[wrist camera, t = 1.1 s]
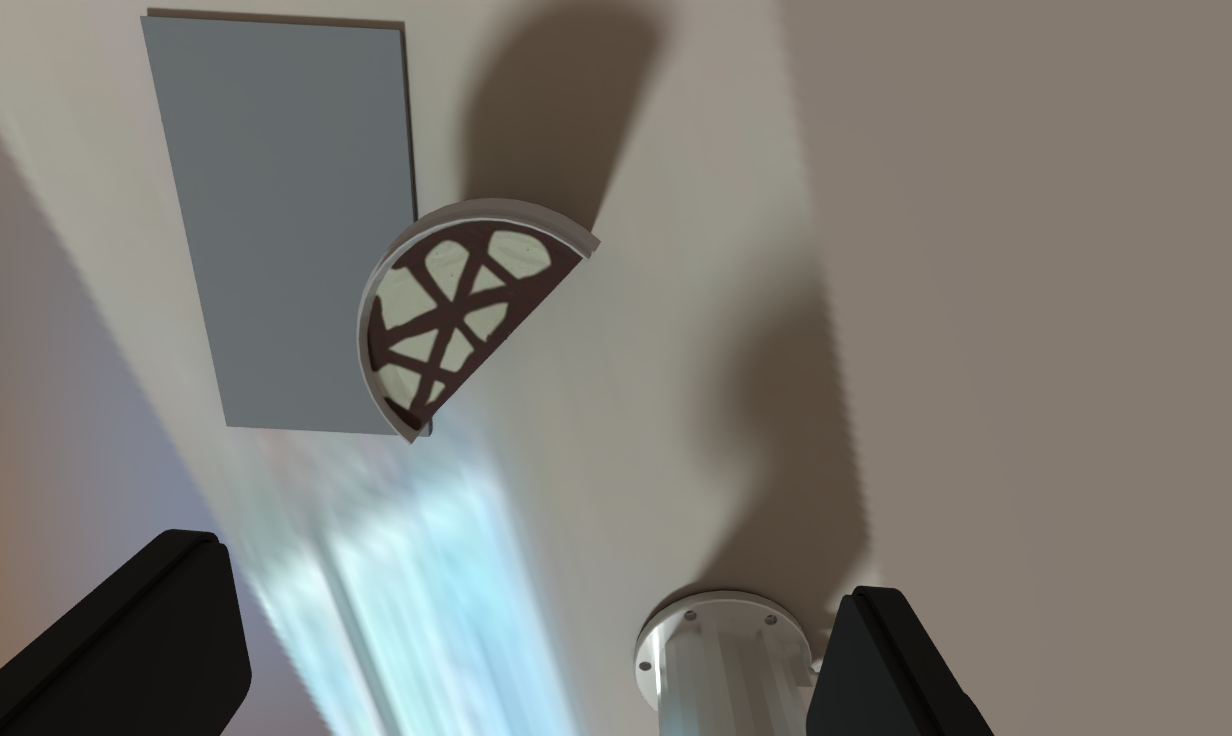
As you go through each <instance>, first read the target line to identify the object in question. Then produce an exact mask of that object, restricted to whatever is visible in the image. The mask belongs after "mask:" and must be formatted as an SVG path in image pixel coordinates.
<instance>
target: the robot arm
mask: <svg viewBox="0 0 1232 736" xmlns="http://www.w3.org/2000/svg"><path fill="white" fill-rule="evenodd" d="M811 665H812V657H811V652H810V648H809V644H808V642H807V639H806V637H805V634H804V632H803V630H802V628H801V627H800V625H799V624H798V622H797V621H796V619H795V618H794V617H793V616H792V615H791V614H790V613H789V612H787V611H786V610H785V609H784V608H782V607H781V606H779V605H778V604H776V603H774V602H773V601H771V600H768V599H766V598H763V597H761V596H758V595H754V594H750V593H745V592H740V591H723V590H722V591H712V592H704V593H700V594H696V595H692V596H688V597H686V598H684V599H681V600H679V601H677V602H674V603H672V604H671V605H669V606H668V607H666V608H665V609H663V610H661V611H660V612H659V613H658V614H657V615H656V616H654V617H653V618H652V619H651V620H650V621H649V622H648V624H647V625H646V626H645V628H644V629H643V631H642V632H641V634H640V636H639V638H638V641H637V643H636V646H635V653H634V676H635V680H636V684H637V687H638V689H639V691H640V693H641V695H642V697H643V698H644V699H645V701H646V702H647V703H648V704H649V705H650V707H651V708H652V709H654V710H655V711H656V712H658V716H659V734H660V736H994V734H993V733H992V731H991V729H990V728H989V726H988V725H987V723H986V721H985V720H984V718H983V716H982V715H981V713H980V712H979V710H978V708H977V707H976V705H975V704H974V703H973V702H972V700H971V699H970V698H969V697H968V695H967V694H965V693H964V692H963V691H962V689H961V687H960V686H959V684H958V682H957V681H956V679H955V678H954V676H953V674H952V673H951V671H950V670H949V668H948V666H947V665H946V663H945V661H944V660H943V658H942V656H941V655H940V653H939V652H938V650H937V649H936V647H935V645H934V644H933V642H932V640H931V639H930V637H929V635H928V634H927V632H926V630H925V629H924V627H923V626H922V624H921V622H920V621H919V619H918V618H917V616H916V614H915V613H914V611H913V609H912V608H911V606H910V604H909V603H908V601H907V600H906V598H905V596H904V595H903V594H902V593H901V592H900V591H899V590H897V589H895V588H884V587H871V586H857V587H856V588H855V589H854V591H853V593H852V595H844V596H843V598H842V600H841V603H840V606H839V610H838V613H837V616H836V620H835V623H834V626H833V629H832V633H831V636H830V639H829V643H828V646H827V649H826V653H825V656H824V659H823V663H822V666H821V669H820V672H815V671H814V669H813V668H812V667H811ZM251 677H252V672H251V666H250V661H249V656H248V651H247V646H246V641H245V636H244V630H243V625H242V620H241V615H240V610H239V604H238V599H237V594H236V589H235V584H234V578H233V573H232V568H231V563H230V558H229V553H228V549H227V547H226V546H225V545H224V544H222V543H219V540H218V538H217V536H216V535H215V534H214V533H211V532H203V531H190V530H178V529H170V530H166V531H164V532H163V533H161V534H159V535H158V536H157V537H156V538H155V539H153V540H152V541H151V542H150V543H149V544H147V545H146V546H145V547H144V548H143V549H141V550H140V551H139V552H138V553H137V554H136V555H134V556H133V557H132V558H131V559H130V560H129V561H127V562H126V563H125V564H124V565H123V566H122V567H120V568H119V569H118V570H117V571H116V572H114V573H113V574H112V575H111V576H110V577H108V578H107V579H106V580H105V581H104V582H102V583H101V584H100V585H99V586H98V587H97V588H96V589H94V590H93V591H92V592H91V593H89V594H88V595H87V596H86V597H85V598H84V599H82V600H81V601H80V602H79V603H78V604H77V605H75V606H74V607H73V608H72V609H71V610H69V611H68V612H67V613H66V614H65V615H63V616H62V617H61V618H60V619H59V620H58V621H56V622H55V623H54V624H53V625H52V626H51V627H49V628H48V629H47V630H46V631H44V632H43V633H42V634H41V635H40V636H39V637H37V638H36V639H35V640H34V641H33V642H32V643H30V644H29V645H28V646H27V647H26V648H24V649H23V650H22V651H21V652H20V653H18V654H17V655H16V656H15V657H14V658H13V659H11V660H10V661H9V662H8V663H7V664H6V665H4V666H3V667H2V668H1V669H0V736H220V735H221V733H222V732H223V730H224V728H225V727H226V726H227V724H228V723H229V721H230V720H231V718H232V717H233V715H234V714H235V713H236V711H237V710H238V708H239V707H240V705H241V704H242V702H243V701H244V699H245V697H246V695H247V692H248V690H249V687H250V684H251Z"/></svg>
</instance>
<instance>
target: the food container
mask: <svg viewBox="0 0 1232 736" xmlns="http://www.w3.org/2000/svg"><path fill="white" fill-rule="evenodd" d="M600 242H601V241H600V240H599V239H597V238H596V237H595V236H594V235H592V234H591V233H590V232H589V231H588V230H586V229H585V228H584V227H583V226H581V225H579V224H578V223H576V222H574V221H573V220H571V219H569V218H568V217H566V216H564V215H563V214H560V213H558V212H556V211H553V210H551V209H548V208H546V207H543V206H541V205H538V204H533V203H529V202H525V201H521V200H517V199H504V198H482V199H471V200H466V201H462V202H458V203H454V204H451V205H447V206H444V207H442V208H440V209H438V210H435V211H433V212H431V213H429V214H427V215H425V216H423V217H422V218H420V219H419V220H418V221H416V222H415V223H413V224H412V225H410V226H409V227H408V228H406V229H405V230H404V231H403V232H402V233H401V234H400V235H399V236H398V237H397V238H396V239H395V240H394V241H393V242H392V243H391V245H390V246H389V248H388V249H387V251H386V252H385V253H384V255H383V256H382V258H381V259H380V261H379V262H378V264H377V265H376V267H375V268H374V269H373V271H372V273H371V275H370V277H369V279H368V282H367V284H366V286H365V288H364V290H363V294H362V298H361V302H360V306H359V310H358V318H357V332H356V334H357V338H356V341H357V351H358V361H359V364H360V368H361V372H362V376H363V379H364V382H365V384H366V387H367V389H368V391H369V393H370V396H371V398H372V400H373V402H374V403H375V405H376V406H377V408H378V410H379V411H380V413H381V414H382V416H383V417H384V418H385V420H386V421H387V422H388V423H389V424H390V426H391V427H392V428H393V429H394V430H395V432H396V433H397V434H399V435H400V436H401V437H402V438H403V439H404V440H405V441H406V442H407V443H408V444H410V445H411V444H412V443H413V442H414V440H415V439H416V438H417V436H418V435H419V434H420V432H421V431H422V430H423V428H424V427H425V426H426V424H427V423H428V422H429V421H430V419H431V418H432V417H433V415H434V414H435V413H436V411H437V410H438V409H439V408H440V407H441V406H442V405H443V404H444V403H445V402H446V401H447V400H448V399H449V398H450V397H451V396H452V395H453V394H454V393H455V392H456V391H457V389H458V388H459V387H460V386H461V385H462V384H463V383H464V382H465V381H466V380H467V379H468V378H469V377H470V376H471V375H472V374H473V373H474V372H475V371H476V369H477V368H478V367H479V366H480V365H481V364H483V362H484V361H485V360H486V359H487V358H488V357H489V356H490V355H491V354H492V353H493V352H494V351H495V350H496V349H497V348H498V347H499V346H500V345H501V344H502V343H503V341H504V340H506V339H507V337H508V336H509V335H510V334H511V333H512V332H513V331H514V330H515V329H516V328H517V327H518V326H519V325H520V324H521V323H522V322H523V321H524V320H525V319H526V318H527V316H528V315H529V314H530V313H531V312H532V311H533V310H534V309H535V308H536V307H537V306H538V305H539V304H540V303H541V302H542V301H543V300H544V299H545V298H546V297H547V296H548V295H549V294H550V293H551V292H552V291H553V290H554V289H555V287H556V286H557V285H558V284H559V283H560V282H561V281H562V280H563V279H564V278H565V277H566V276H567V275H568V274H569V273H570V272H571V271H572V269H573V268H574V267H575V266H576V265H577V264H578V263H579V262H580V261H581V260H582V259H583V258H584V259H586V260H587V261H588V260H589V259H590V256H591V255H592V254H593V253H594V252H595V251H596V249H597V247H598V246H599V244H600Z"/></svg>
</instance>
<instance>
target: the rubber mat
mask: <svg viewBox="0 0 1232 736" xmlns="http://www.w3.org/2000/svg"><path fill="white" fill-rule="evenodd" d="M140 19H141V23H142V28H143V33H144V38H145V42H146V47H147V52H148V56H149V61H150V66H151V71H152V75H153V80H154V85H155V89H156V94H157V99H158V104H159V108H160V113H161V118H162V123H163V127H164V132H165V137H166V141H167V146H168V151H169V156H170V160H171V165H172V170H173V174H174V179H175V184H176V189H177V193H178V198H179V203H180V208H181V212H182V217H183V222H184V226H185V231H186V236H187V241H188V245H189V250H190V255H191V259H192V264H193V269H194V274H195V278H196V283H197V288H198V293H199V297H200V302H201V307H202V311H203V316H204V321H205V326H206V330H207V335H208V340H209V344H210V349H211V354H212V359H213V363H214V368H215V373H216V378H217V382H218V387H219V392H220V396H221V401H222V406H223V411H224V415H225V420H226V425H227V426H232V427H251V428H270V429H289V430H308V431H327V432H346V433H364V434H383V435H399V434H397V433H396V432H395V430H394V429H393V428H392V427H391V426H390V424H389V423H388V422H387V421H386V420H385V418H384V417H383V416H382V414H381V413H380V411H379V410H378V408H377V406H376V405H375V403H374V402H373V400H372V398H371V396H370V393H369V391H368V389H367V387H366V384H365V382H364V379H363V376H362V372H361V368H360V364H359V361H358V351H357V341H356V338H357V334H356V332H357V318H358V310H359V306H360V302H361V298H362V294H363V290H364V288H365V286H366V284H367V282H368V279H369V277H370V275H371V273H372V271H373V269H374V268H375V267H376V265H377V264H378V262H379V261H380V259H381V258H382V256H383V255H384V253H385V252H386V251H387V249H388V248H389V246H390V245H391V243H392V242H393V241H394V240H395V239H396V238H397V237H398V236H399V235H400V234H401V233H402V232H403V231H404V230H405V229H406V228H408V227H409V226H410V225H412V224H413V223H415V222H416V214H415V200H414V186H413V172H412V158H411V144H410V130H409V116H408V102H407V88H406V74H405V60H404V46H403V32H402V31H400V30H390V29H371V28H353V27H334V26H316V25H297V24H279V23H260V22H242V21H223V20H205V19H187V18H168V17H150V16H140ZM430 435H431V423H430V421H429V422H428V423H427V424H426V426H425V427H424V428H423V430H422V431H421V432H420V434H419V435H418V436H421V437H429V436H430Z"/></svg>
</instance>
